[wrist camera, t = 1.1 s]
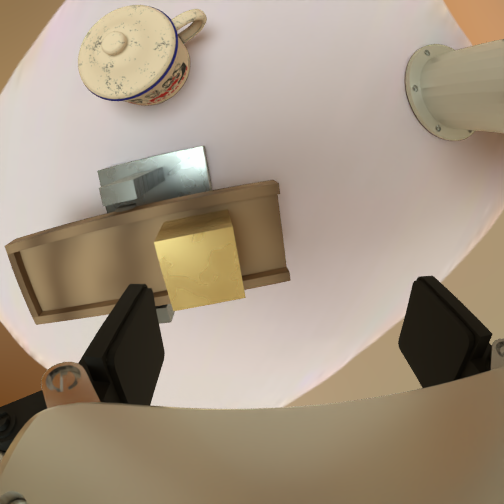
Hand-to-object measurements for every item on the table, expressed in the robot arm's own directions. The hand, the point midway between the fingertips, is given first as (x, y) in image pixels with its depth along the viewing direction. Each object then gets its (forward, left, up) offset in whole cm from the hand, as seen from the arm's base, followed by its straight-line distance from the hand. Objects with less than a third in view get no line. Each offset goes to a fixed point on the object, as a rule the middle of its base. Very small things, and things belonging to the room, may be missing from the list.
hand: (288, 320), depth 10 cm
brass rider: (+5, +2, -14) cm, 15 cm away
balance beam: (+11, +2, -17) cm, 20 cm away
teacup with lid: (+8, -16, -25) cm, 31 cm away
